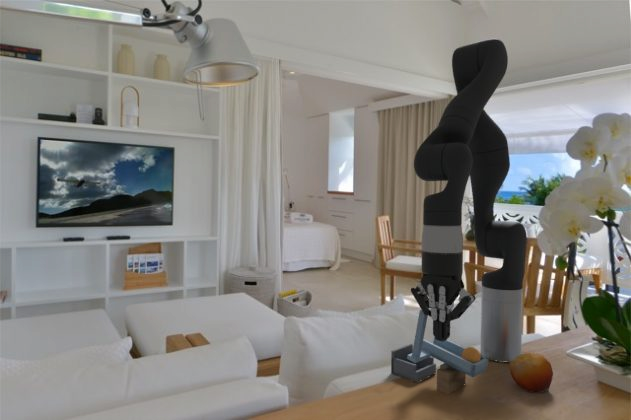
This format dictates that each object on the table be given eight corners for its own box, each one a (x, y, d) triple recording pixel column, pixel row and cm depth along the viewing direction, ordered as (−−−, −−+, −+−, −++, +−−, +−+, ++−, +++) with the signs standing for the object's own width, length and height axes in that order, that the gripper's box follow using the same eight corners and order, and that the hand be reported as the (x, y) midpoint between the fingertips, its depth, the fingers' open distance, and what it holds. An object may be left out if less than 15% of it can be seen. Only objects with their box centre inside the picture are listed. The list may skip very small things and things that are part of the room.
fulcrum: (454, 380, 93) (454, 354, 93) (465, 383, 91) (466, 357, 91) (436, 389, 88) (436, 362, 88) (447, 394, 86) (448, 366, 86)
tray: (410, 365, 101) (410, 343, 101) (435, 373, 96) (436, 351, 96) (391, 373, 96) (391, 350, 96) (417, 382, 91) (417, 359, 91)
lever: (434, 344, 95) (442, 299, 94) (486, 370, 87) (496, 321, 85) (403, 356, 88) (412, 308, 86) (457, 386, 79) (468, 332, 77)
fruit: (569, 391, 84) (546, 354, 85) (531, 408, 86) (509, 372, 86) (555, 375, 92) (534, 341, 93) (520, 391, 94) (500, 358, 94)
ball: (466, 359, 89) (467, 342, 88) (483, 365, 86) (484, 348, 86) (457, 363, 86) (459, 346, 86) (474, 370, 84) (476, 352, 84)
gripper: (484, 250, 81) (483, 343, 81) (422, 245, 90) (422, 328, 91) (465, 253, 76) (464, 353, 76) (401, 247, 85) (400, 336, 85)
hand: (441, 339), depth 83 cm, fingers closed
